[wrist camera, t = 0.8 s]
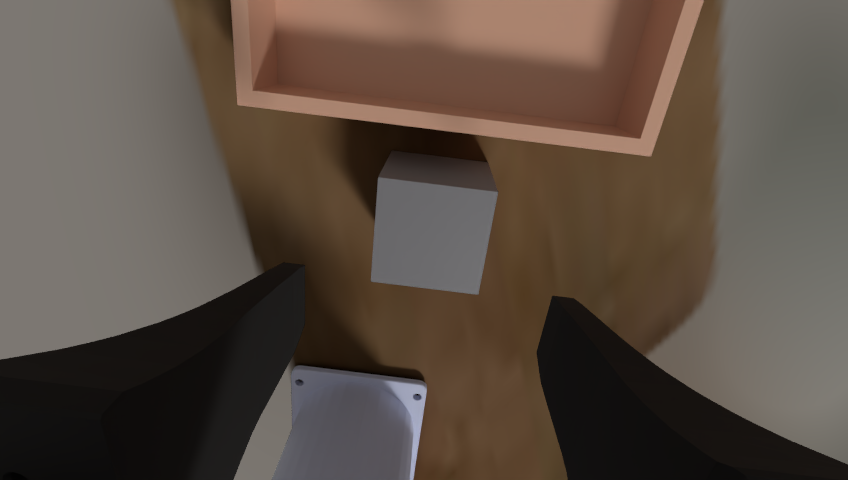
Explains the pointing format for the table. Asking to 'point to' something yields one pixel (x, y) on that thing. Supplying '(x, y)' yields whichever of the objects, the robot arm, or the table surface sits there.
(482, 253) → the grey block
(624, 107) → the terracotta bin
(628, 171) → the table surface
